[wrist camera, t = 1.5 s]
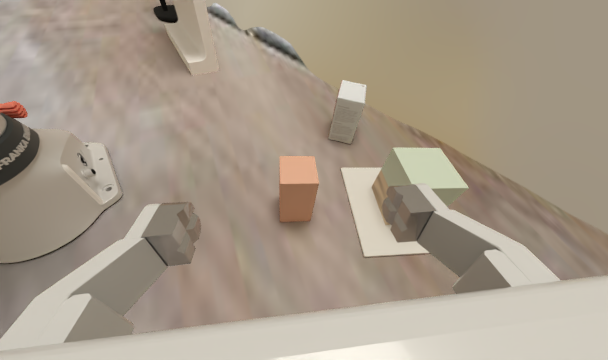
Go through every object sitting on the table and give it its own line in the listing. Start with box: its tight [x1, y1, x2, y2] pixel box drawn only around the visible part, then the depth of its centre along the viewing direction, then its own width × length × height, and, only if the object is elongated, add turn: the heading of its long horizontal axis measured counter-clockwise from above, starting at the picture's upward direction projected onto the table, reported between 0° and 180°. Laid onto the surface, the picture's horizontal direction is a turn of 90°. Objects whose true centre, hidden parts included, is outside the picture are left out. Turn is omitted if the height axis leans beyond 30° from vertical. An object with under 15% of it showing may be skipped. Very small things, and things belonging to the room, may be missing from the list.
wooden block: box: [372, 170, 391, 225], centre depth 37 cm, size 8×8×5 cm
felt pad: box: [340, 168, 429, 257], centre depth 39 cm, size 18×18×1 cm
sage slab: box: [381, 148, 468, 207], centre depth 33 cm, size 8×8×5 cm
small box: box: [328, 80, 367, 144], centre depth 48 cm, size 8×6×10 cm
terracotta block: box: [279, 156, 319, 222], centre depth 33 cm, size 5×5×10 cm
